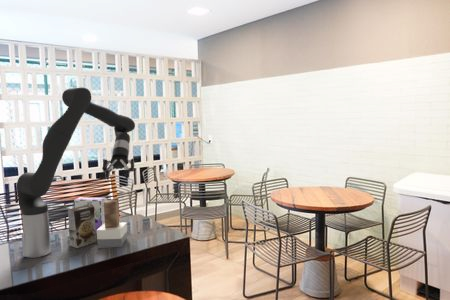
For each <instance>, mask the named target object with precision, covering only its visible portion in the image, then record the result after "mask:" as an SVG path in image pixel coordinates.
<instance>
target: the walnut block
mask: <svg viewBox="0 0 450 300" xmlns="http://www.w3.org/2000/svg"><path fill="white" fill-rule="evenodd" d="M104 217H105V228H115V227H118V225H119V224H120V223H119V222H120V207H119V199H106V201H105V202H104Z"/></svg>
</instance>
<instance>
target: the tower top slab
mask: <svg viewBox="0 0 450 300" xmlns="http://www.w3.org/2000/svg"><path fill="white" fill-rule="evenodd" d="M119 223H120V224H119V225H118V227H115V228H105V223H104V224H103V225H102V226H101V227H99V228H98V229H97V234H96V240H97V239H121V238H122V237H123V236H124V234H125V233H126V234H127V232H128V222H125V221H124V222H120V221H119Z"/></svg>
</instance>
